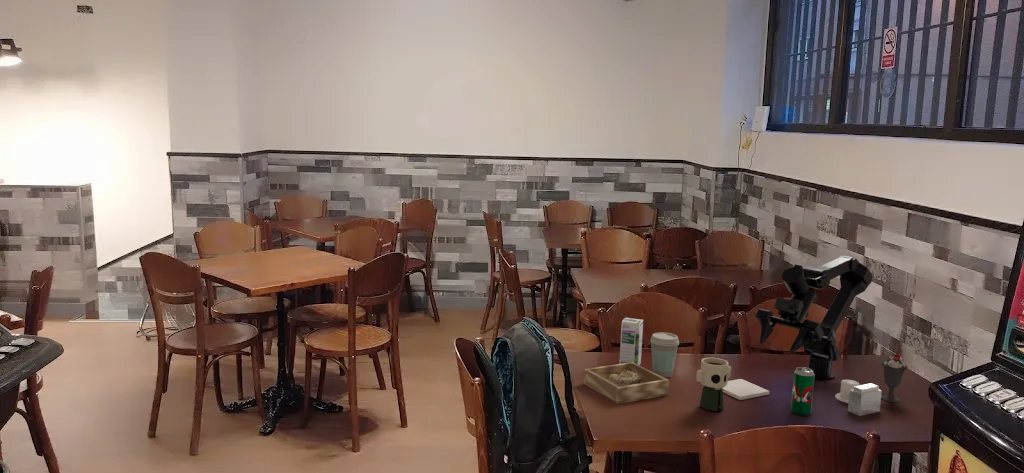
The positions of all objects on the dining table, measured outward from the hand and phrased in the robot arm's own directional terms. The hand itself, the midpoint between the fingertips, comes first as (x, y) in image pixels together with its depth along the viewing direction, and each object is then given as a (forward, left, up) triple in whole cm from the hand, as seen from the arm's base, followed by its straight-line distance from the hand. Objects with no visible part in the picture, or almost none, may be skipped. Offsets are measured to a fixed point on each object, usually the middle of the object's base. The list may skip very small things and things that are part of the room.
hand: (775, 348), depth 212 cm
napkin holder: (-14, +19, -14) cm, 27 cm away
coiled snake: (+37, -20, -13) cm, 44 cm away
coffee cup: (+18, -26, -14) cm, 34 cm away
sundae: (-29, +16, -14) cm, 36 cm away
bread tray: (+36, -20, -13) cm, 44 cm away
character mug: (+23, +1, -14) cm, 27 cm away
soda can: (+3, +13, -14) cm, 20 cm away
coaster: (+6, -6, -13) cm, 16 cm away
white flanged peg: (-18, +11, -14) cm, 25 cm away
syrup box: (+22, -37, -14) cm, 45 cm away
